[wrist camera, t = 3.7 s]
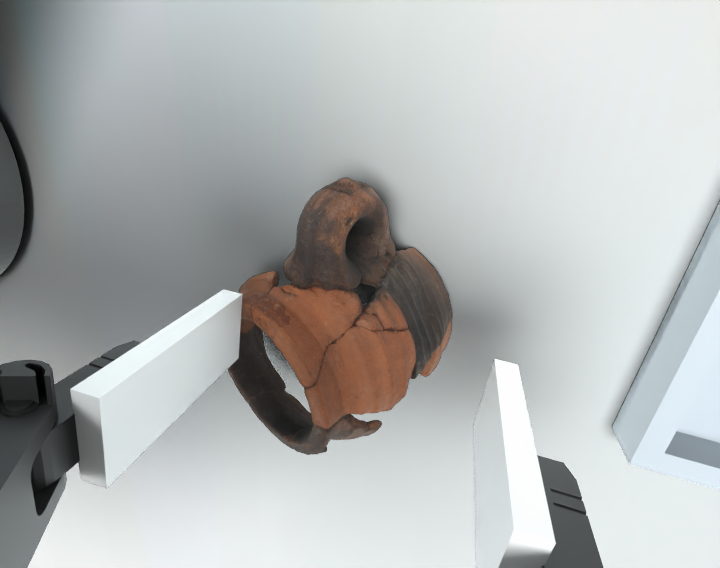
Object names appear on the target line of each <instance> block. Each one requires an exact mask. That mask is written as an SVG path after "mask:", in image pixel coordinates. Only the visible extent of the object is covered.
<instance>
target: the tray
mask: <svg viewBox="0 0 720 568" xmlns="http://www.w3.org/2000/svg"><path fill="white" fill-rule="evenodd" d="M612 428H613V430H614V433H615V435H616V437H617V439H618V441H619V443H620V445H621V448H622V450H623V452H624V454H625V456H626V458H627V460H628V462H629V464H631V465H634V466H637V467H641V468H644V469H648V470H651V471H655V472H658V473H662V474H665V475H669V476H672V477H676V478H679V479H683V480H686V481H690V482H693V483H697V484H700V485H704V486H707V487H711V488H714V489H718V490H720V202H719V204H718V206H717V208H716V210H715V212H714V214H713V217H712V219H711V221H710V223H709V225H708V227H707V229H706V231H705V233H704V235H703V237H702V240H701V242H700V244H699V246H698V248H697V250H696V252H695V254H694V256H693V258H692V261H691V263H690V265H689V267H688V269H687V271H686V273H685V275H684V277H683V279H682V281H681V284H680V286H679V288H678V290H677V292H676V294H675V296H674V298H673V300H672V302H671V304H670V307H669V309H668V311H667V313H666V315H665V317H664V319H663V321H662V323H661V325H660V328H659V330H658V332H657V334H656V336H655V338H654V340H653V342H652V344H651V346H650V348H649V351H648V353H647V355H646V357H645V359H644V361H643V363H642V365H641V367H640V369H639V371H638V374H637V376H636V378H635V380H634V382H633V384H632V386H631V388H630V390H629V392H628V395H627V397H626V399H625V401H624V403H623V405H622V407H621V409H620V411H619V413H618V415H617V418H616V420H615V422H614V424H613V426H612Z"/></svg>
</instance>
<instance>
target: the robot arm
mask: <svg viewBox="0 0 720 568" xmlns="http://www.w3.org/2000/svg"><path fill="white" fill-rule="evenodd" d="M23 225H24V197H23V189H22V183H21V178H20V173H19V169H18V165H17V162H16V158H15V155H14V152H13V149H12V147H11V144H10V142H9V139H8V137H7V134H6V132H5V130H4V128H3V126H2V124H1V122H0V274H2V273H3V272H4V271H5V270H6V269H7V267H8V266H9V265H10V263H11V262H12V260H13V258H14V257H15V255H16V252H17V250H18V247H19V245H20V241H21V237H22V232H23ZM241 310H242V294H240V293H236V292H232V291H228V290H224V289H223V290H222V291H220V292H218V293H217V294H215V295H214V296H212V297H211V298H209V299H208V300H206V301H205V302H203V303H202V304H200V305H199V306H197V307H195V308H194V309H192V310H191V311H189V312H188V313H186V314H185V315H183V316H182V317H180V318H179V319H177V320H175V321H174V322H172V323H171V324H169V325H168V326H166V327H165V328H163V329H162V330H160V331H159V332H157V333H156V334H154V335H152V336H151V337H149V338H148V339H146V340H145V341H143V342H142V343H140V342H137V341H132V342H129V343H126V344H123V345H120V346H117V347H115V348H113V349H112V350H110V351H108V352H107V353H105V354H103V355H102V356H101V358H97V359H95V360H94V361H92V362H90V363H89V365H86V366H84V367H82V368H81V369H79V370H78V371H76V372H74V373H73V374H71V375H69V376H68V377H66V378H65V379H63V380H61V381H60V382H58V383H56V384H55V385H54V380H53V372H52V369H51V367H50V365H49V364H47V363H44V362H42V361H36V360H22V361H14V362H10V363H6V364H2V365H0V568H27V567H28V565H29V563H30V561H31V559H32V556H33V554H34V552H35V550H36V548H37V546H38V544H39V542H40V539H41V537H42V535H43V533H44V531H45V529H46V527H47V525H48V523H49V520H50V518H51V516H52V514H53V512H54V510H55V508H56V506H57V503H58V501H59V499H60V497H61V495H62V493H63V491H64V489H65V485H66V480H67V479H66V472H67V471H68V470H69V469H70V468H72V467H73V466H74V465H75V464H76V463H78V462H79V470H80V479H81V480H83V481H86V482H89V483H92V484H95V485H97V486H100V487H103V488H106V489H107V488H108V487H109V486H110V485H111V484H112V483H113V482H114V481H115V480H116V479H117V478H118V477H119V476H120V475H121V474H122V473H123V472H124V471H125V470H126V469H127V468H128V467H129V466H130V465H131V464H132V463H133V462H134V461H135V460H136V459H137V458H138V457H139V456H141V455H142V454H143V453H144V452H145V451H146V450H147V449H148V448H149V447H150V446H151V445H152V444H153V443H154V442H155V441H156V440H157V439H158V438H159V437H160V436H161V435H162V434H163V433H164V432H165V431H166V430H167V429H168V428H169V427H170V426H171V425H172V424H173V423H174V422H175V421H176V420H177V419H178V418H179V417H180V416H181V415H182V414H183V413H184V412H185V411H186V410H187V409H188V408H189V407H190V406H191V405H192V404H193V403H194V402H195V401H196V400H197V399H198V398H199V397H200V396H201V395H202V394H203V393H204V392H205V391H206V390H207V389H208V388H209V387H210V386H211V385H212V384H213V383H214V382H215V381H216V380H217V379H218V378H219V377H220V376H221V375H222V374H223V373H224V372H225V371H226V370H227V369H228V368H229V367H230V366H231V365H232V364H233V363H234V362H235V361H236V360H237V359H238V358H239V342H240V326H241ZM473 437H474V499H475V561H476V568H603V565H602V562H601V559H600V555H599V552H598V549H597V546H596V542H595V539H594V536H593V533H592V529H591V526H590V523H589V520H588V516H586V510H585V507H584V503H583V501H581V499H582V497H581V494H580V490H579V487H578V484H577V481H576V479H575V478H574V476H573V475H572V474H571V472H570V471H569V470H568V468H567V467H566V466H565V464H564V463H562V462H558V461H555V460H551V459H548V458H544V457H541V456H538V455H537V452H536V447H535V443H534V438H533V433H532V428H531V424H530V419H529V414H528V409H527V405H526V400H525V395H524V390H523V386H522V381H521V376H520V371H519V367H518V364H514V363H510V362H506V361H502V360H498V359H494V362H493V365H492V368H491V371H490V374H489V377H488V380H487V384H486V387H485V390H484V393H483V396H482V399H481V402H480V405H479V408H478V411H477V414H476V418H475V421H474V424H473Z"/></svg>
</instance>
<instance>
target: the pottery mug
mask: <svg viewBox="0 0 720 568" xmlns="http://www.w3.org/2000/svg"><path fill="white" fill-rule="evenodd" d="M388 221H389V218H388V212H387V208H386V206H385V204H384V202H383V201H382V200H381V199H380V197H379V196H378V194H377V193H376V192H375V191H374V190H373V188H372V187H370V186H369V185H367V184H366V183H363V182H356V181H354V180H352V179H350V178H346V177H345V178H341V179H339V180H338V181H336V182H334V183H332V184H330V185H327V186H325V187H323V188H322V189H320V190H319V191H317V192H316V193H315V194H314V195H313V196H312V197H311V198H310V200H309V201H308V202H307V204H306V205H305V207H304V209H303V211H302V213H301V216H300V219H299V223H298V226H297V240H296V246H295V249H294V250H293V251H292V252H291V254H290V255H289V256H288V258H287V259H286V261H285V263H284V273H285V275H286V277H287V279H288V280H290V281H291V282H292V284H290V285H283V286H279V287H278V282H279V275H278V273H277V272H276V271H269V272H266V273H262V274H260V275H256V276H253V277H251V278H250V279H249V280H247V281H246V282H245V283H244V284H243V285H242V286H241V287H240V289H239V293H240V294H242V310H241V326H240V342H239V358H238V359H237V360H236V361H235V362H234V363H233V364H232V365H231V366H230V367H229V368H228V371H229V373H230V375H231V377H232V379H233V381H234V383H235V385H236V386H237V388H238V390H239V391H240V393H241V394H242V396H243V397H244V399H245V400H246V402H248V404H249V405H250V407H251V409H252V410H253V411H254V413H255V414H256V415H257V417H258V418H259V420H260V421H261V422H263V423H264V424H265V426H266V427H267V428H268V429H269V430H270V431H271V432H272V433H273V434H274V435H275V436H276V437H277V438H278V439H279V440H280V441H281V442H283V443H284V444H286V445H287V446H289V447H290V448H292V449H295V450H296V451H298V452H301V453H305V454H308V455H309V454H318V453H322V452H326V451H327V447H326V446H327V444H328V442H329V441H330V440H331V439H333V440H341V439H354V438H358V437H361V436H368V435H370V434H372V433H374V432H376V431H377V430H378V429H379V428H380V427H381V425H382V423H381V421H379V420H373V421H369V422H365V421H362V420H358V419H356V418H354V417H353V416H352V415H351V414H361V415H362V414H365V413H378V412H381V411H388V410H391V409H392V408H393V407H394V405H395V404H396V403H398V402H399V401H400V400H401V399H402V398H403V397H404V396H405V395H406V391H407V387H408V382H409V380H410V378H412V379H415V378H416V377H417V375H418V374H419V373H420V374H421V375H422V376H425V377H427V376H429V375H430V374H431V372H432V371H433V370H434V369H435V367H436V366H437V364H438V362H439V360H440V358H441V354H442V352H443V351H444V349H445V348H446V346H447V344H448V341H449V339H450V335H451V328H452V320H451V319H452V311H451V306H450V301H449V296H448V293H447V291H446V289H445V287H444V285H443V282H442V280H441V278H440V276H439V275H438V273H437V271H436V270H435V269H434V267H433V266H432V265H431V264H429V262H428V261H427V260H426V259H425V258H424V256H422V255H421V254H420V253H419V252H418V251H417V250H416V249H414V248H408V249H406V250H400V251H395V245H394V243H393V241H392V239H391V236H390V231H389V222H388ZM360 283H362V284H367V285H370V286H374V287H375V292H374V293H373V296H372V297H371V298H370V300H369V302H368V303H367V304H366V305H365V306H364V305H363V304H362V302H361V299H360V297H359V296H358V295H357V294H356V293H355V292H354V289H355V288H357V287H358V286H359V284H360ZM262 331H263V332H265V334H266V335H267V336H268V337H269V338H270V339H271V340H272V342H273V343H274V344H275V345H276V347H277V348H278V349H279V350H280V351H281V353H282V354H283V356H284V357H285V358H286V360H287V361H288V363H289V364H290V366H291V367H292V369H293V370H294V372H295V374H296V376H297V378H298V380H299V382H300V383H301V385H302V386H303V387H304V392H305V395H306V397H307V400H308V403H309V407H310V411H311V413H309V412H308V411H307V410H306V409H305V408H304V407H303V406H302V405H301V403H300V402H299V401H298V400H297V399H296V398H294V397H293V396H292V395H290V394H288V393H287V392H286V391H285V388H286V386H285V383H284V381H283V380H282V378H281V377H280V375H279V374H278V373H277V371H276V370H275V369H274V367H273V366H272V364H271V362H270V360H269V359H268V357H267V355H266V350H265V347H264V342H263V335H262Z"/></svg>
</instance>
